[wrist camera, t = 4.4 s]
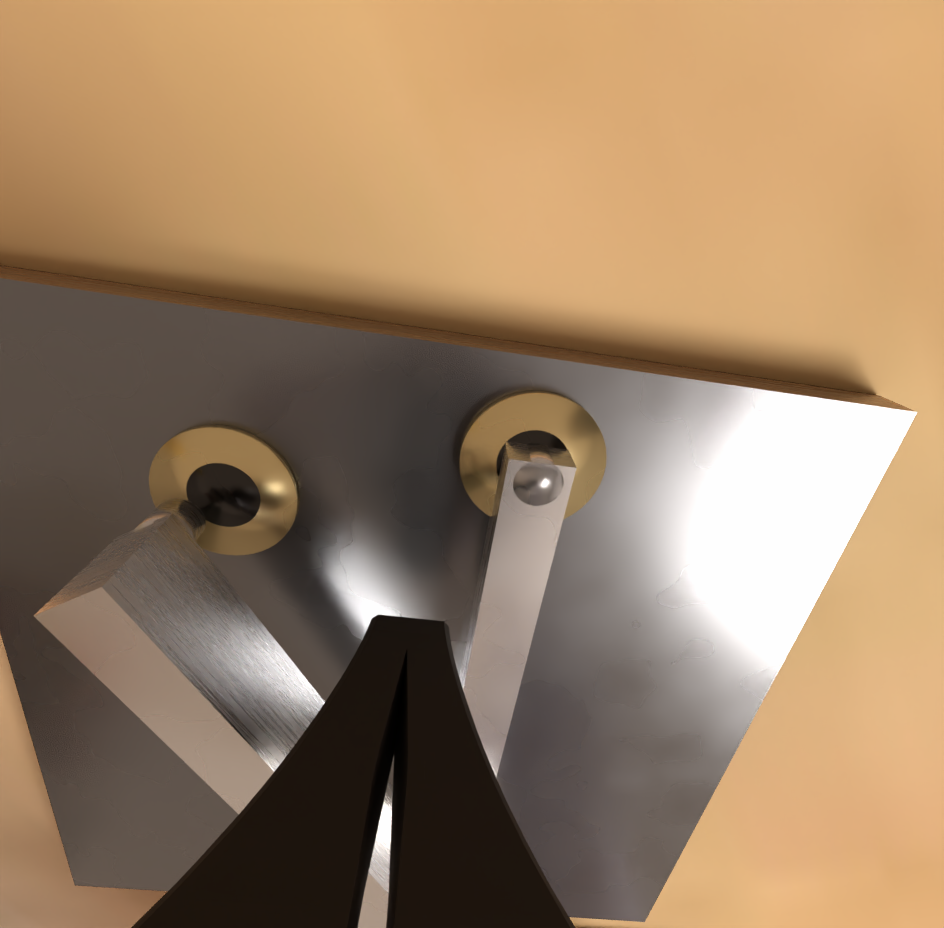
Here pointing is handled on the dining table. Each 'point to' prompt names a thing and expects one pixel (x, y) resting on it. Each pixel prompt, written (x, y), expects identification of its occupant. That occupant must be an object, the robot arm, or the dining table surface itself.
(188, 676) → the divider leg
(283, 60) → the dining table surface
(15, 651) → the plate
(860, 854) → the dining table surface
